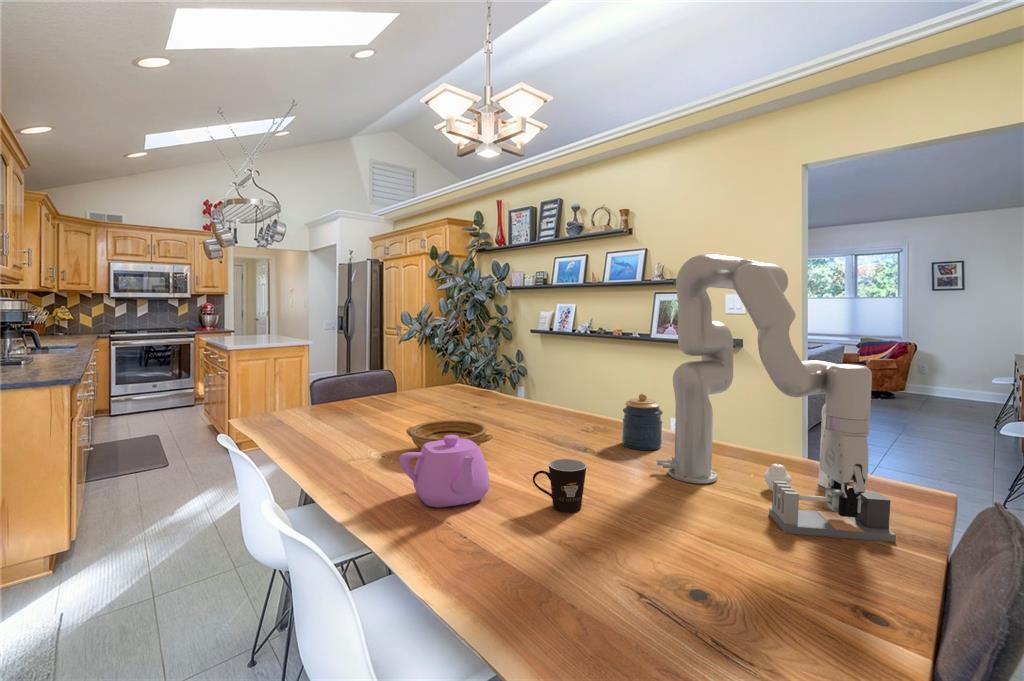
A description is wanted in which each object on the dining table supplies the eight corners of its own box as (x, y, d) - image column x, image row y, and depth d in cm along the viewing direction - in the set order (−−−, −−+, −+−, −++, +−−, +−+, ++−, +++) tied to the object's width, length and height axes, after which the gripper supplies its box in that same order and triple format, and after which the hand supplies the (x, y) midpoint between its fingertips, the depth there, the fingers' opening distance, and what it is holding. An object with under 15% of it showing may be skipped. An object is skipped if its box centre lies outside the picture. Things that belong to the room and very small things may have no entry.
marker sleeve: (833, 511, 96) (834, 494, 96) (825, 503, 100) (825, 488, 100) (860, 512, 95) (861, 496, 95) (851, 505, 99) (851, 490, 99)
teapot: (392, 493, 116) (392, 433, 115) (473, 480, 125) (473, 424, 124) (414, 532, 95) (413, 460, 94) (508, 514, 104) (508, 447, 103)
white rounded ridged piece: (767, 484, 123) (768, 458, 122) (794, 490, 118) (795, 463, 118) (759, 490, 118) (760, 463, 118) (786, 497, 114) (788, 469, 114)
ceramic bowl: (506, 447, 155) (506, 423, 154) (475, 471, 132) (475, 443, 132) (427, 439, 165) (427, 416, 164) (386, 459, 142) (386, 433, 142)
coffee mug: (588, 502, 110) (589, 461, 110) (582, 517, 102) (582, 473, 102) (541, 496, 114) (541, 455, 114) (531, 510, 106) (531, 467, 106)
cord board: (784, 533, 96) (786, 494, 95) (769, 514, 104) (770, 479, 104) (895, 542, 92) (897, 502, 92) (869, 522, 101) (871, 485, 100)
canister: (667, 451, 152) (668, 397, 151) (626, 451, 152) (627, 397, 151) (655, 440, 165) (656, 390, 164) (618, 440, 165) (619, 390, 164)
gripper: (808, 415, 105) (805, 495, 106) (847, 434, 89) (842, 528, 90) (845, 416, 104) (841, 497, 105) (891, 436, 88) (886, 531, 89)
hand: (842, 510), depth 98 cm, fingers closed on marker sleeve, 3 cm apart
